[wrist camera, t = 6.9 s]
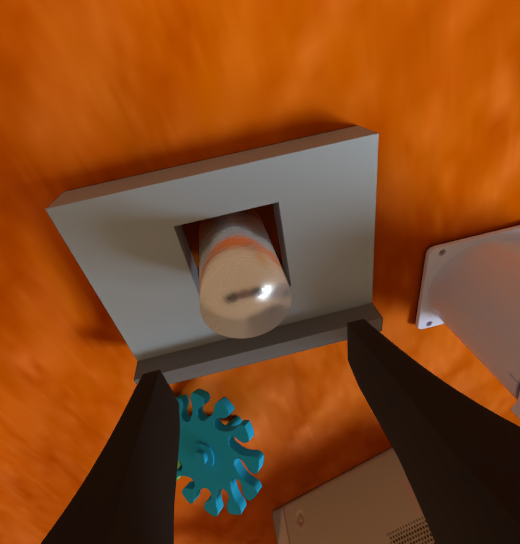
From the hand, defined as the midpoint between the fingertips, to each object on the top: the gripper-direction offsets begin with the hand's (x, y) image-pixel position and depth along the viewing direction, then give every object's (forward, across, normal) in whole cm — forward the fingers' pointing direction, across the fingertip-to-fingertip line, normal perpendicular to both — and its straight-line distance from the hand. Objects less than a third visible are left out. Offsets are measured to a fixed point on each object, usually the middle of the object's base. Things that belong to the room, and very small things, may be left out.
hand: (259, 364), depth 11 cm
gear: (+10, +7, +17) cm, 21 cm away
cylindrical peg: (+10, 0, 0) cm, 10 cm away
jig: (+10, 0, +1) cm, 10 cm away
